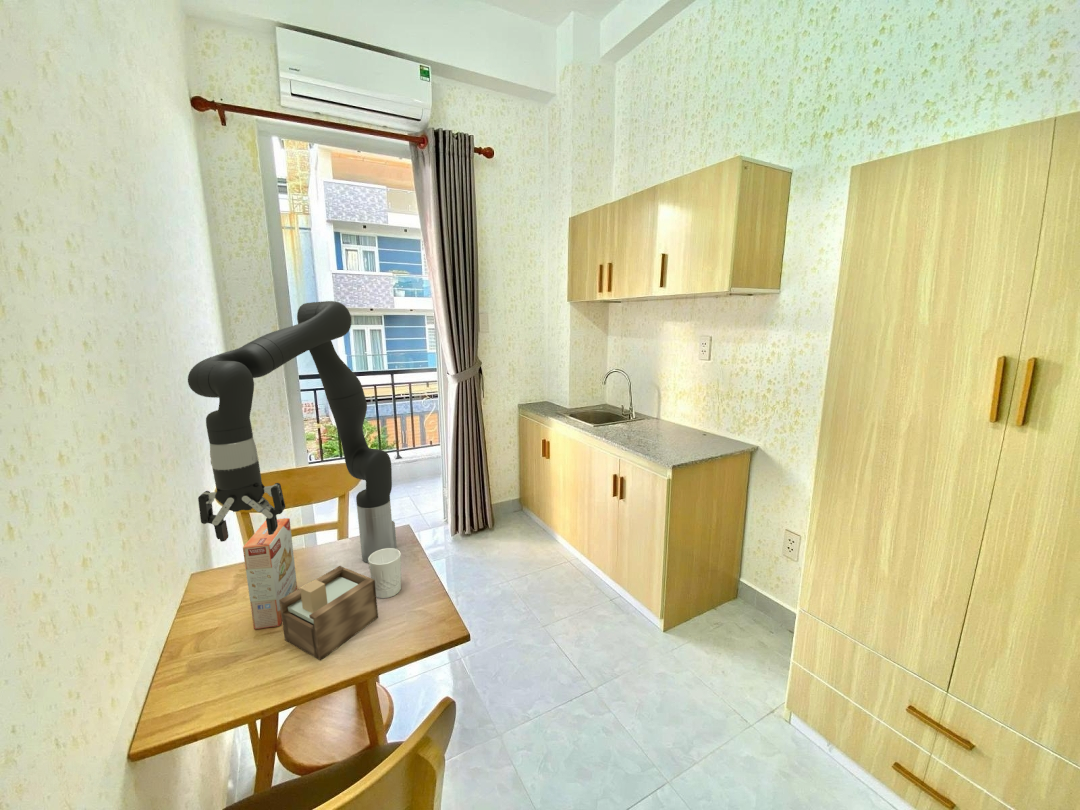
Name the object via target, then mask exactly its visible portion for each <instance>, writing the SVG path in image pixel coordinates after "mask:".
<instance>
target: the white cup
mask: <svg viewBox="0 0 1080 810" xmlns="http://www.w3.org/2000/svg"><path fill="white" fill-rule="evenodd" d="M401 555H402V553H401V551H400V550H399V549H398V548H397V549H394V548H385V549H381V550H378V551H375V552H374V553H372V554H371V555H370V556H369V558H368V562H369V563H368V567H369V573H370V574H369V575H370V578H372V579H374V580H375V589H376V598H378V599H389V598H391V597H394V596H395V595H397V594H399V592H400V591H401V589H402V556H401Z"/></svg>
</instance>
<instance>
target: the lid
mask: <svg viewBox="0 0 1080 810" xmlns="http://www.w3.org/2000/svg"><path fill="white" fill-rule="evenodd" d="M356 585H358V584H357V583H355V582H352V581H350V580H347V579H345V578H343V577H340V576H339V577H338V578H336V579H334V580H332V581H331V582H329V583H327V584H326V585H325V584H324V583H322V582H320V581H318V580H315V579H313V580H311V581H310V582H307V583H306V584H303V586H301V587H299V589H300V591H301V599H300V600H298V601H297V602H295V603H293V604H292V605H290V606H288V611H289V612H291V613H293V614H295V615H297V616H299V617H301V618H303V619H305V620H307V621H308V622H310V623H312V624H314V621H313V619H311V618H310V616H309V615H311V614H312V613H314V612H315V611H317V610H318V609H320V608H322V607H323V606H325V605H326V604H328V603H330V602H331V601H333V600H334V599H336V598H337V597H339V596H341V595H342V594H344V593H345V592H347V591H348V590H350V589H352V588H353V587H355V586H356Z"/></svg>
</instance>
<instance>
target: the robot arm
mask: <svg viewBox="0 0 1080 810" xmlns="http://www.w3.org/2000/svg"><path fill="white" fill-rule="evenodd" d="M296 320H297V323H296V324H294V325H291V326H288V327H284V328H281V329H278V330H275V331H271V332H269V333H266V334H263V335H261V336H259V337H257V338H255V339H253V340H251V341H250V342H247V343H245V344H244V345H242V346H241V347H239V348H235V349H231V350H229V351H225V352H222V353H219V354H216V355H213V356H210V357H208V358H206V359H203V360H200V361H199V362H198V363H196V364H195V365H194V366H193V367H192V368H191V369H190V371H189V373H188V375H187V384H188V386H189V388H190V389H191V390H192V392H193V393H195V394H196V395H199V396H201V397H204V398H215V399H218V400H219V401H218V402H219V403H218V409H217V410H214V411H211V412H210V413H208V414H207V415H206V417H205V426H206V432H207V436H208V437H207V439H208V441H209V443H208V444H209V456H210V465H211V467H212V473H213V479H214V483H215V487H216V491H215V492H211V491H210V490H205V491H204V492H202V493H201V494H200V495H199V496H198V498H197V501H198V508H199V509H198V510H199V517H200V523H201V524H203V525H206V524H210V525H212V526H213V527H214V532H215V536H216V538H217V540H219V542H226V541H227V540H228V538H229V531H228V526H227V520H226V519H225V517H226V516H227V514H228V513H229V512H230V511H232V512H233V513H235V512H237V513H238V512H240V511H251V510H252V509H253V510H255V511H256V512H257V513H261V514H262V515H263V516H264V517H266V519H265V521H266V523H267V529H268V534H269V535H272V534H273V533H274V532H275V531H276V529H277V527H278V523H277V519H278V518H277V515H281V514H282V513H283V512H284V510H285V509H286V503H285V498H284V495H283V494H284V493H283V489H282V486H281V483H279V482H275V483H274V484H273V485H266V486H265V485H264V484H263V481H262V473H261V468H260V462H259V457H258V450H257V445H256V442H255V438H254V433H253V428H252V422H251V411H252V407H253V397H254V391H255V390H254V389H255V381H254V379H256V378H261V377H265V376H267V375H268V374H270V373H273V371H275V370H277V369H278V368H280V367H282V366H283V365H284V364H287V363H288V362H289V361H291V360H293V359H294V358H297V357H298V356H300V355H302V354H304V353H306V352H308V351H309V354H310V356H311V358H312V360H313V362H314V365H315V367H316V370H317V373H318V376H319V379H320V381H321V384H322V387H323V390H324V393H325V398H326V400H327V403H328V405H329V408H330V411H331V414H332V417H333V420H334V423H335V426H336V429H337V433H338V436H339V438H340V443H341V446H342V451H343V458H344V462H345V467H346V469H347V472H348V474H350V476H351V477H353V478H355V479H357V480H361V481H365V488H364V489H362V490H360V491H359V492H358V493H357V494H356V496H355V502H356V510H357V520H358V521H357V523H358V531H359V543H360V552H361V560H362V561H363V562H364V563H368V564H369V562H368V558H369V556H370V555H371V554H372V553H374V552H375V551H378V550H381V549H385V548H394V549H398V548H397V545H398V544H397V535H396V534H397V533H396V522H395V521H394V520H393V518H392V508H391V507H392V506H391V492H392V487H393V482H392V481H393V480H392V479H393V478H392V473H393V472H392V461H391V457H390V455H389V453H387V451H385V450H383V449H376V448H370V447H369V445H368V443H367V440H366V437H365V434H364V423H365V419H366V415H367V412H368V411H367V410H368V404H367V400H366V395H365V392H364V388H363V384H362V383H361V381H360V379H359V378H358V377H357V375H356V374H355V373H354V371H352V369H350V367H348V365H347V364H346V363H345V362H344V361H343V360H342V359H341V357H340V356H339V355H338V353H337V352H336V349H335V347H334V344H333V342H332V341H333V340H336V339H339V338H342V337H344V336H346V335H347V334H348V332H349V331H350V329H351V327H352V315H351V313H350V310H349V308H348V307H347V306H346V305H344V304H343V303H342V302H339V301H335V300H327V301H325V300H323V301H312V302H306V303H305V302H304V303H303V304H301V305H300V306H299V308H298V309H297V314H296ZM264 494H267V495H268V496H269V497H271V498H272V503H273V506H272V504H270V502H269V501H268V500H267V498H265V497H264ZM215 500H217V501H218V502H219V503H221V504H222V506H221V508H220V509H219V511H218V512H217V514H214V511H213V510H214V509H213V502H215ZM224 519H225V520H224Z"/></svg>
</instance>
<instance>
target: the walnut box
mask: <svg viewBox="0 0 1080 810" xmlns="http://www.w3.org/2000/svg"><path fill="white" fill-rule="evenodd" d="M339 576H340V577H343V578H345V579H347V580H350V581H352V582H355V583H357V584H358V585H356V586H355V587H353V588H352V589H350V590H348V591H347V592H345V593H344V594H342V595H341V596H339V597H337V598H336V599H334V600H333V601H331V602H330V603H328V604H326V605H325V606H323V607H322V608H320V609H318V610H317V611H315V612H314V613H312V614H311V615H309V616H310V618H311V619H313V621H314V624H312V623H310V622H308V621H307V620H305V619H303V618H301V617H299V616H297V615H295V614H293V613H291V612H289V611H288V606H290V605H292V604H293V603H295V602H297V601H298V600H300V599H301V591H300V588H297V590H296V591H294V592H292V593H291V594H289V595H287V596H285V597H284V598H282V599H280V600H279V602H280V610H281V617H282V623H281V625H282V631H283V635H284V636H283V637H284V641H285V642H287V643H289V644H291V646H295V647H297V649H299V650H301V651H303V652H305V653H306V654H308V655H310V656H312V657H313V658H316V659H317V660H318V661H322V660H324V658H326V657H327V656H328V655H330V654H331V653H332V652H334V651H335V650H336V649H338V648H340V646H342V645H344V644H345V643H346V642H347V641H349V640H351V638H353V637H354V636H356V635H357V634H358V633H360V632H361V631H363V629H365V628H367V627H368V626H369V625H370V624H371V623H373V622H374V621H376V620H377V619H378V618H379V612H378V611H379V610H378V601H377V600H378V599H377V597H376V589H375V580H374V579H372V578H371V577H369V576H367V575H364V574H362V573H359V572H356V571H354V570H352V569H349V568H346V567H344V566H342V565H339V566H337V567H335V568H333V569H332V570H330V571H328V572H326V573H324V574H323V575H321V576H319V577H317V578H316V579H315V578H314V580H318V581H320V582H322V583H324V584H325V585H326V584H327V583H329V582H331V581H332V580H334V579H336V578H338V577H339Z"/></svg>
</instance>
